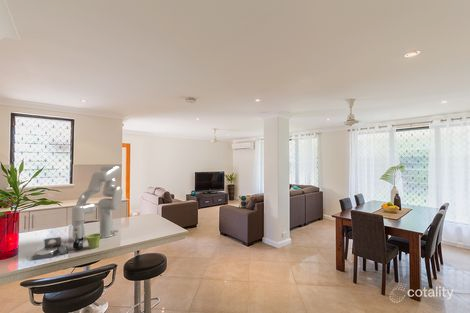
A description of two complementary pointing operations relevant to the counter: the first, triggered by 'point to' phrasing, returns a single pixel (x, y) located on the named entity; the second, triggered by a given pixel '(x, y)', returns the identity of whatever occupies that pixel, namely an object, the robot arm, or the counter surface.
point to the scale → (49, 248)
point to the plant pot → (93, 240)
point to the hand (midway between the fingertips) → (78, 245)
